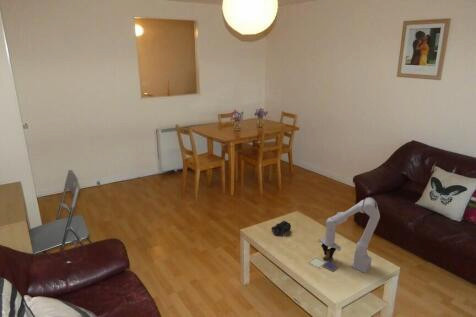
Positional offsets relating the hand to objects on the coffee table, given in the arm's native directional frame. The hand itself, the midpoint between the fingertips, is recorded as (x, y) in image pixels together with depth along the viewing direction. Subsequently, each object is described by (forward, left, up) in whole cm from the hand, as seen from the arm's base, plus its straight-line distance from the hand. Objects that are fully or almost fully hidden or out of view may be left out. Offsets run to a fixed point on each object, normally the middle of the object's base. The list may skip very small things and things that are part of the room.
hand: (328, 255), depth 212 cm
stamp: (0, 0, -3) cm, 3 cm away
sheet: (+3, +7, -3) cm, 9 cm away
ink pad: (-5, +5, -3) cm, 8 cm away
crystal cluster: (+42, -5, -3) cm, 42 cm away
